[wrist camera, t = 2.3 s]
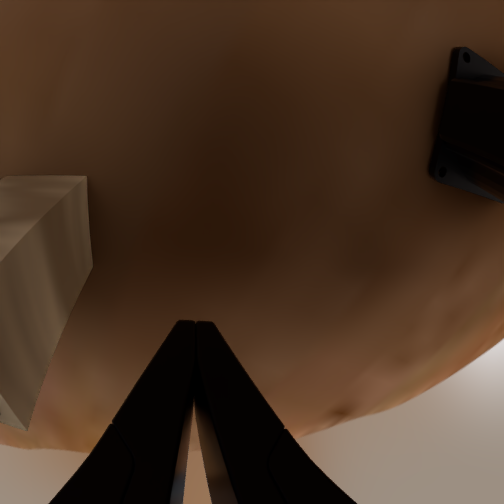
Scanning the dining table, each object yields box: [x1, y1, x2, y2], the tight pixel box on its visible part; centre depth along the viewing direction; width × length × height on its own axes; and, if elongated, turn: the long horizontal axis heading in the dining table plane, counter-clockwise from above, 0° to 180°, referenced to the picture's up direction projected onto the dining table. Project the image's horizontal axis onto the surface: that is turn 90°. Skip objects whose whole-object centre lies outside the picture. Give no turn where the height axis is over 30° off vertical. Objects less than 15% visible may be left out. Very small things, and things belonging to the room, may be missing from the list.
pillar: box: [0, 175, 93, 431], centre depth 7 cm, size 4×4×8 cm
